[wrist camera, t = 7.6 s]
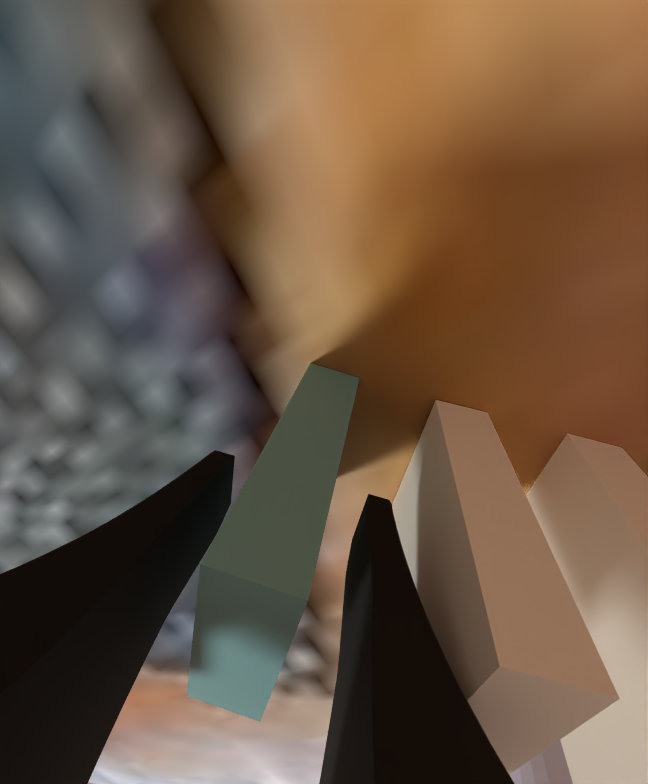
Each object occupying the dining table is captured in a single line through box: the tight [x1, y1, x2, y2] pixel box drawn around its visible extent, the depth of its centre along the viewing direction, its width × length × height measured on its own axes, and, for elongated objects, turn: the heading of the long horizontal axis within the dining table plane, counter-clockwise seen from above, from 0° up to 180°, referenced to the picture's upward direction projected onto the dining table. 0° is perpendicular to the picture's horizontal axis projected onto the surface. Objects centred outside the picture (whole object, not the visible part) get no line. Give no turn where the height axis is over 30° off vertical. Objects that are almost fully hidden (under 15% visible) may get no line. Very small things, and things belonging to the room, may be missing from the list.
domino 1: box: [187, 363, 360, 721], centre depth 10 cm, size 2×5×8 cm, turn 166°
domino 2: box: [393, 400, 620, 774], centre depth 10 cm, size 2×5×8 cm, turn 169°
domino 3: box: [526, 433, 648, 784], centre depth 10 cm, size 2×5×8 cm, turn 169°
